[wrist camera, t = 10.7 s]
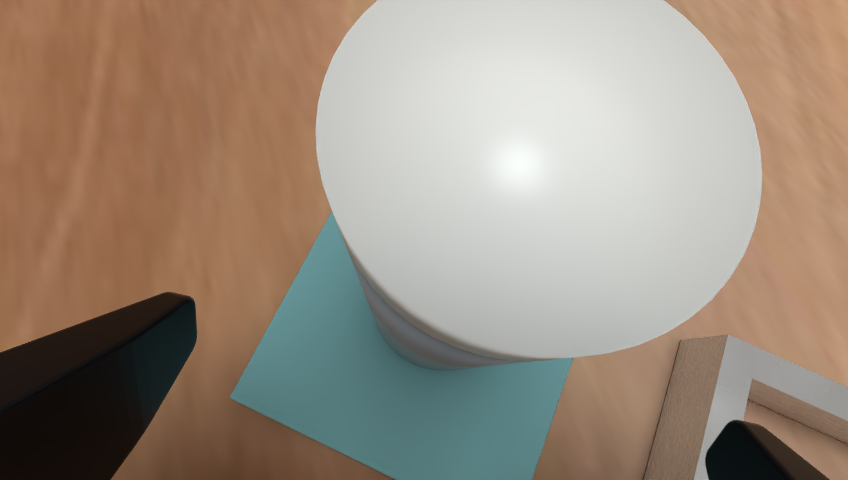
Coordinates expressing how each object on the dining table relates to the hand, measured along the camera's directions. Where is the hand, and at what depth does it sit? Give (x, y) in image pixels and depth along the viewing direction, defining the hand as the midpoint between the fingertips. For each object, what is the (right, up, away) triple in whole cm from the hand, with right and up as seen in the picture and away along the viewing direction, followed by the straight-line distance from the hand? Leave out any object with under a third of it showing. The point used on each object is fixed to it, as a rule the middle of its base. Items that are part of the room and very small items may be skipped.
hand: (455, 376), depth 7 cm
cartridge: (0, 0, +9) cm, 9 cm away
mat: (0, 0, +9) cm, 9 cm away
